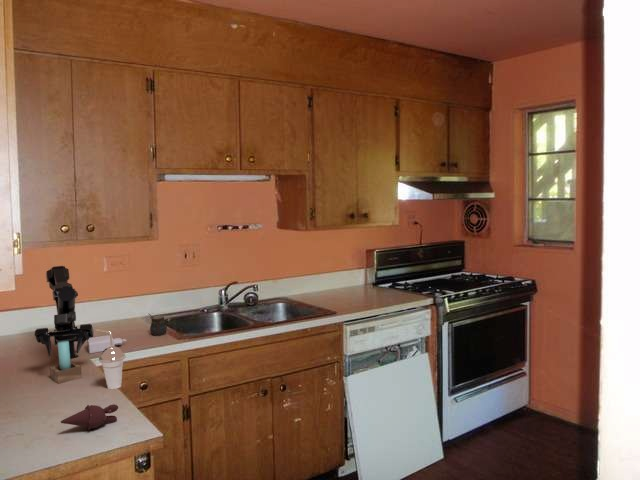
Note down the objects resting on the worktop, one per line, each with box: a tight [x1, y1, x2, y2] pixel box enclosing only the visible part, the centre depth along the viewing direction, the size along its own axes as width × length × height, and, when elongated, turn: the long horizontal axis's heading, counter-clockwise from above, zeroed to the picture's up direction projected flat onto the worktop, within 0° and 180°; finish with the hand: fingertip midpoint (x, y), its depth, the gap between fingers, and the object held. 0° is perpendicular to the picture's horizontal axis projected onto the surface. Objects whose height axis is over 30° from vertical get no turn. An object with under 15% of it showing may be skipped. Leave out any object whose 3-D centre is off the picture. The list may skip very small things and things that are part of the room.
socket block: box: [49, 361, 83, 385], centre depth 197 cm, size 8×8×4 cm
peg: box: [57, 341, 72, 371], centre depth 197 cm, size 4×4×13 cm
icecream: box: [60, 403, 119, 431], centre depth 156 cm, size 7×7×15 cm
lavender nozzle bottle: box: [86, 334, 127, 355], centre depth 231 cm, size 5×9×15 cm
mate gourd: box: [147, 312, 168, 337], centre depth 249 cm, size 7×8×10 cm
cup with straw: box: [95, 328, 126, 390], centre depth 187 cm, size 8×9×20 cm
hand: (63, 354), depth 195 cm, fingers open, 9 cm apart
